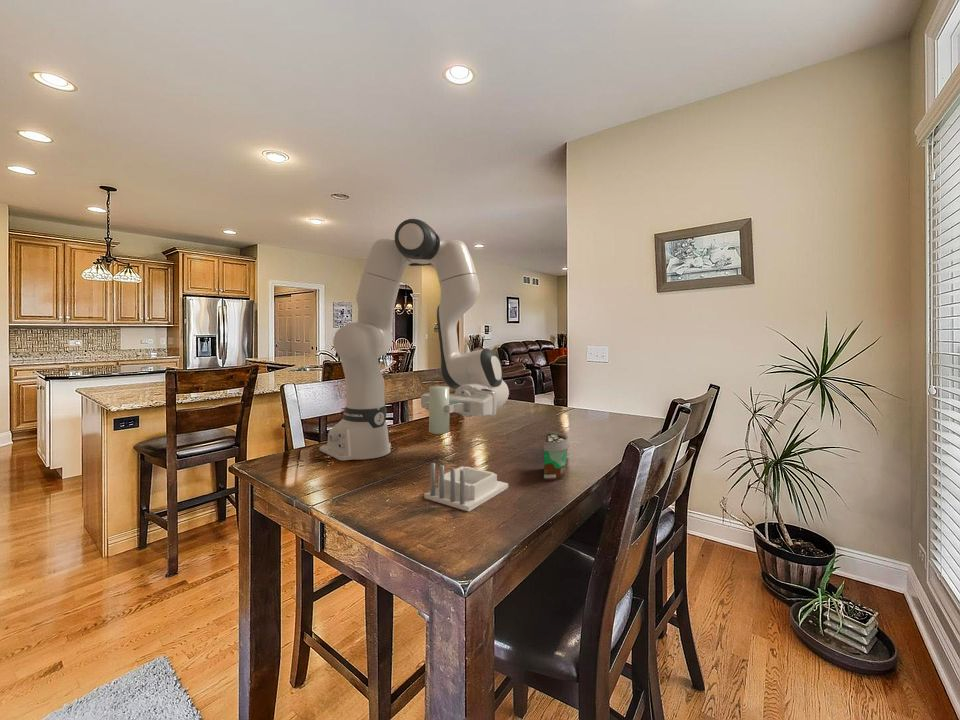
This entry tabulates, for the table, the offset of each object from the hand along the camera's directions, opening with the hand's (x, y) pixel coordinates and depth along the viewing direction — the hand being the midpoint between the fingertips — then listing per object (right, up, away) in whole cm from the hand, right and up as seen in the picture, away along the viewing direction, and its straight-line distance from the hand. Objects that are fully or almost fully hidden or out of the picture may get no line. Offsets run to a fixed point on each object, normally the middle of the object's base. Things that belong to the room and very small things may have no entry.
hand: (436, 407), depth 102 cm
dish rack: (+8, -19, -7) cm, 21 cm away
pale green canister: (+1, -6, +1) cm, 6 cm away
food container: (+30, -18, +5) cm, 36 cm away
